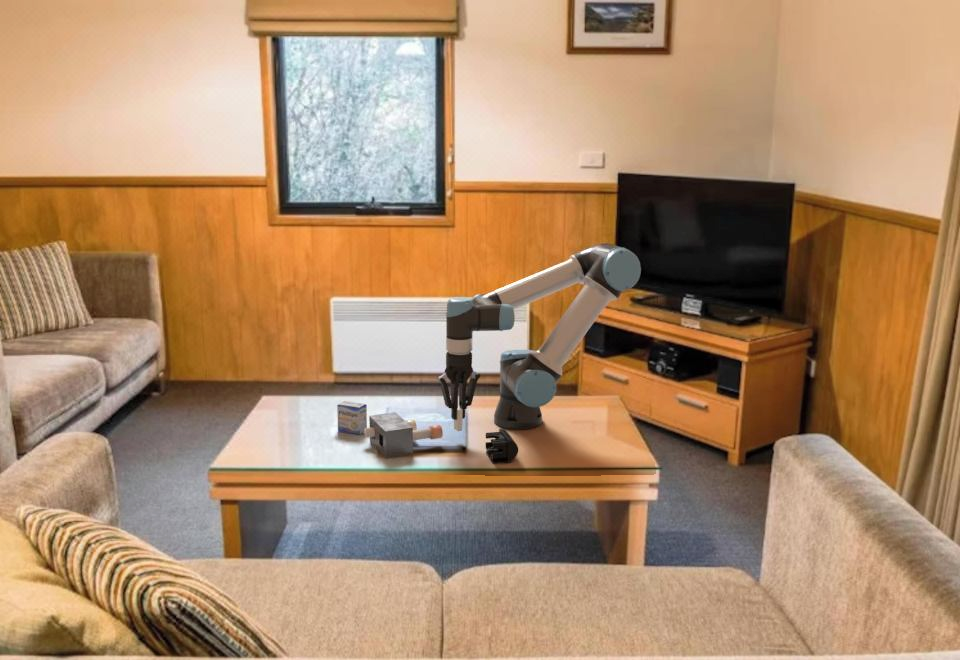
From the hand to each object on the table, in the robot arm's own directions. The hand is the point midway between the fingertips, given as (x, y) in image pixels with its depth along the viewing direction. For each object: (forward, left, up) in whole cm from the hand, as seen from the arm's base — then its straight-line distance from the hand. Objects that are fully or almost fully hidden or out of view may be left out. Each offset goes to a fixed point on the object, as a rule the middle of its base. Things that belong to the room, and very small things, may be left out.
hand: (458, 429), depth 251 cm
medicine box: (+26, -21, -4) cm, 34 cm away
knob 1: (+18, -7, -2) cm, 20 cm away
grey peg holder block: (+20, -3, -4) cm, 20 cm away
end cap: (-6, +16, -4) cm, 18 cm away
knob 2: (+13, 0, -2) cm, 13 cm away
